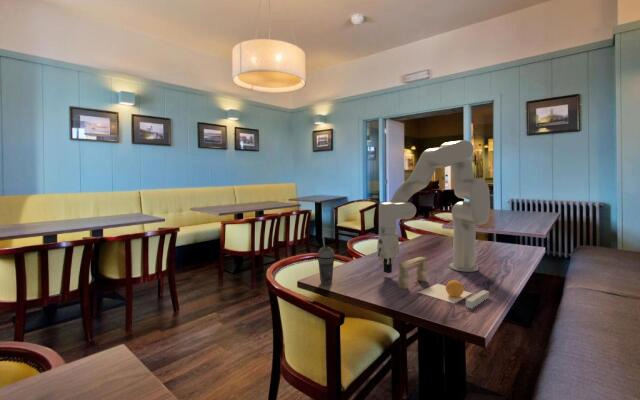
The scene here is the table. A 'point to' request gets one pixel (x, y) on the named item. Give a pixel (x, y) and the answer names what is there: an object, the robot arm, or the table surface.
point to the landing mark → (443, 293)
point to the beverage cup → (326, 264)
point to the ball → (454, 288)
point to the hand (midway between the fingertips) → (387, 272)
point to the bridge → (405, 268)
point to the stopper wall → (477, 299)
